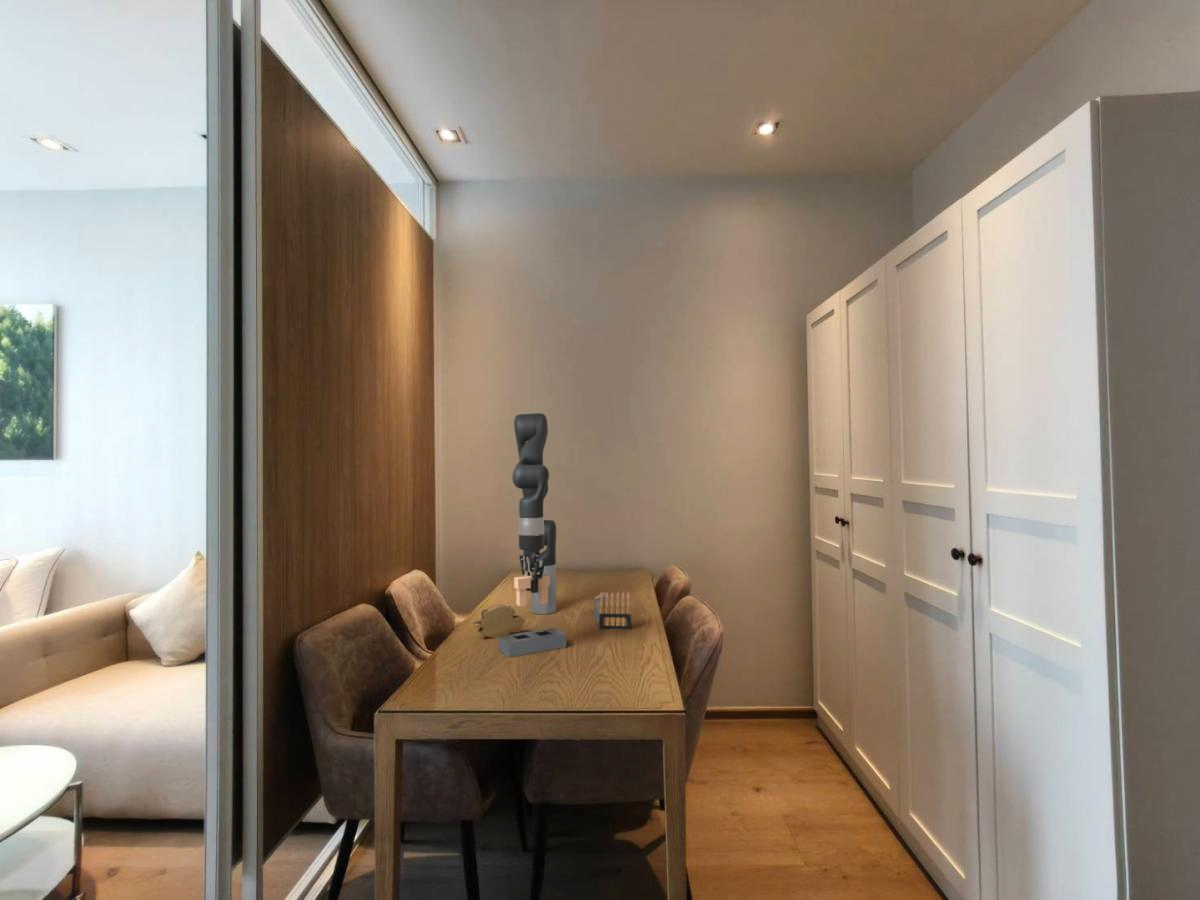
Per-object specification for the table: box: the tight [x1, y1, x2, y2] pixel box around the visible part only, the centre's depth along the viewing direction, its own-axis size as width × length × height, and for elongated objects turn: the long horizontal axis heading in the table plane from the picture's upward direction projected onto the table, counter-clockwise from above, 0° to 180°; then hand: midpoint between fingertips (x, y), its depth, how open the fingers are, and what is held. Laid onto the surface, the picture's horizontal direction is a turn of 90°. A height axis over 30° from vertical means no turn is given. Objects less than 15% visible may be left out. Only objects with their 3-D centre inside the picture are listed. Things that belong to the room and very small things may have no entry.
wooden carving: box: [473, 604, 526, 639], centre depth 201 cm, size 16×5×10 cm, turn 123°
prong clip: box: [513, 574, 550, 607], centre depth 188 cm, size 3×10×8 cm, turn 120°
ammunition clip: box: [598, 591, 633, 630], centre depth 209 cm, size 11×2×12 cm, turn 84°
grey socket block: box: [498, 627, 567, 658], centre depth 188 cm, size 8×18×4 cm, turn 120°
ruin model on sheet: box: [593, 592, 607, 620], centre depth 225 cm, size 11×3×10 cm, turn 168°
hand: (532, 591), depth 188 cm, fingers closed on prong clip, 3 cm apart
